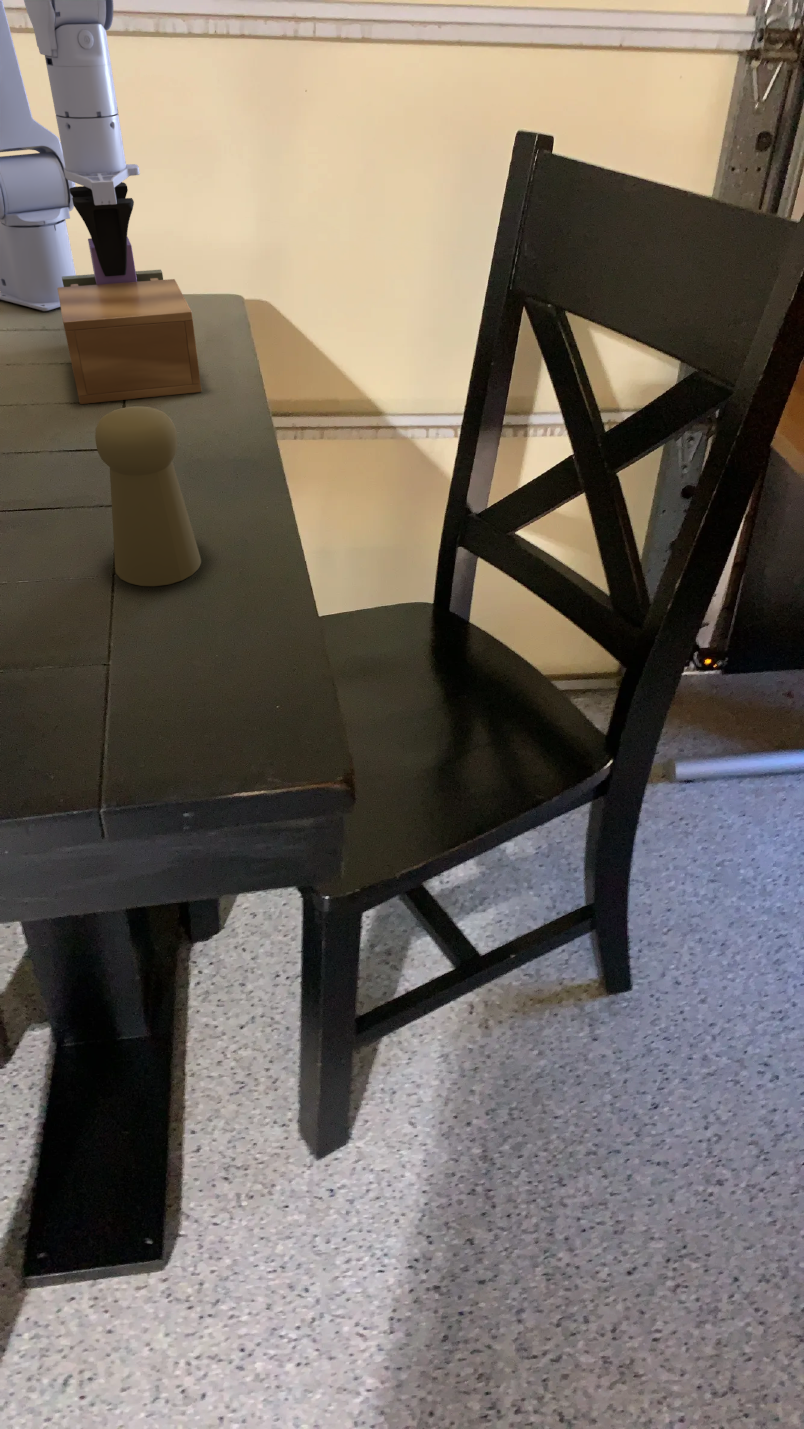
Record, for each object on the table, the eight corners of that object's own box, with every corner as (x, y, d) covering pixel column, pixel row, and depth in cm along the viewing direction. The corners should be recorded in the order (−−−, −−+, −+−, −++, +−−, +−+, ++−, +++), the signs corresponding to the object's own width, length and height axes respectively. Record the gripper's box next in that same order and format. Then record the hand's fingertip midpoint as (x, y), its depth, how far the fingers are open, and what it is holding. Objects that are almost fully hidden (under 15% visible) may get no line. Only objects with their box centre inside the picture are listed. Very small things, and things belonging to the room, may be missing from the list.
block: (95, 279, 100) (87, 238, 97) (134, 277, 101) (127, 235, 98) (98, 290, 97) (90, 247, 94) (138, 287, 98) (131, 244, 95)
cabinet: (72, 364, 99) (57, 287, 94) (184, 353, 102) (174, 278, 97) (80, 404, 91) (63, 321, 86) (201, 391, 94) (191, 311, 89)
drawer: (70, 321, 108) (59, 266, 104) (163, 313, 110) (156, 259, 106) (78, 364, 97) (66, 304, 93) (181, 354, 99) (174, 296, 96)
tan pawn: (106, 553, 69) (75, 403, 62) (188, 536, 71) (167, 390, 64) (125, 593, 65) (93, 438, 58) (211, 575, 67) (191, 422, 60)
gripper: (139, 123, 85) (161, 284, 94) (123, 103, 96) (144, 249, 104) (57, 126, 83) (87, 290, 92) (50, 105, 94) (78, 253, 102)
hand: (113, 269), depth 98 cm, fingers closed on block, 4 cm apart
